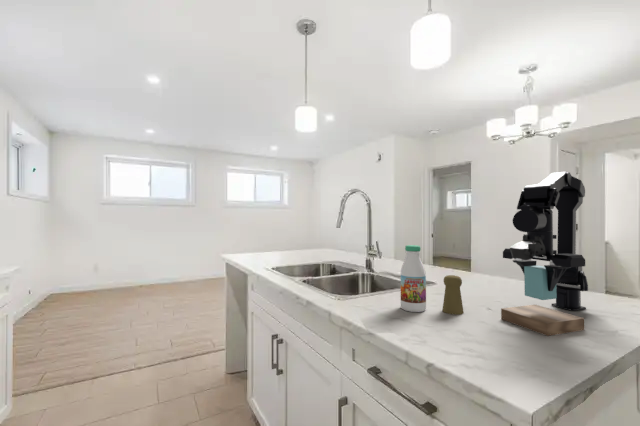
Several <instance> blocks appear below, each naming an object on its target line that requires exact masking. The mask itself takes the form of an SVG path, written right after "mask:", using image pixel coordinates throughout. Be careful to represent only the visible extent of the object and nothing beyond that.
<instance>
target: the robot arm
mask: <svg viewBox="0 0 640 426" xmlns="http://www.w3.org/2000/svg"><path fill="white" fill-rule="evenodd" d="M585 197H586V189H585V185H584V183H583V181H582V180H581V179H580V178H577V177H575V176H572V174H571V172H568V171H560V172H551V173H550V174H548V175H547V177H546V178H544V179H543V180H542V181H540V182H539V183H537V184H536V183H535V184H534V183H533V184H529V185H528V184H527V185H525V186H524V187H523V189H522V190H521V193H520V196H519V199H518V202H517V206H516V210H518V211H517V212H516V213H515V214H514V215H513V216H512V225H513V226H514V228H515V229H516V230H517V231H519V232H523V233H525V234H523V235H522V240H521V241H518V242H515V244H511V245H510V246H509V248H504V250H502V259H507V260H508V259H509V260H512V259H513V260H512V262H513V263H515V264H517V266H519V267H520V269H521V271H522V273H523V274H524V266H537V261H544V262H549V264H545V265H543V266H544V267H545V268H546V270H547V279H548V291H553V289H554V287H555V286H556V293H557V299H555V302H553V303H551V307H552V306H553V307H557V308H561V309H564V310H568V311H574V312H575V311H581V310H587V307H586V306H582V303H581V301H582V297H581V292H589V283H588V279H587V276H586V275H585V271H583V267H586V258H584V256H583V255H582V254H576V250H577V249H576V246H577V245H576V243H577V242H576V239H577V238H576V237H577V233H576V232H577V227H576V226H577V211H578V209H579V208H580V207H581V205H582V204H583V202H584V200H583V199H584V198H585ZM554 207H555V209H556V210H557V234H554V232H553V231H554V230H553V229H554V224H553V222H554V220H553V217H554V215H553V209H554ZM555 239H557V244H556V245H557V250H555V249H554V240H555Z"/></svg>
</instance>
